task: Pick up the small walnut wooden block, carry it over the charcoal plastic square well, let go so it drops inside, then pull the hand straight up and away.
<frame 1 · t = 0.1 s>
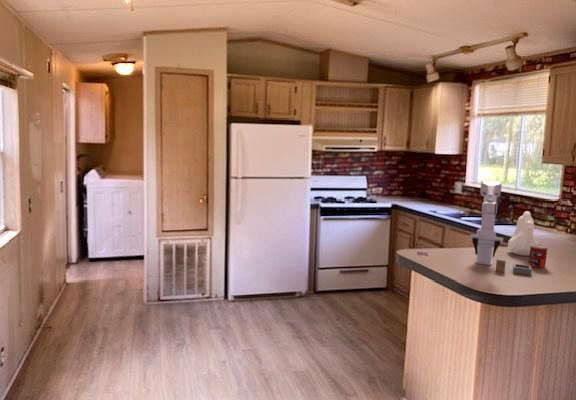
hand: (484, 255, 245), 10 cm above the countertop, tool pointing down, fingers open, 7 cm apart
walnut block: (499, 271, 256), on the countertop
canned food: (536, 266, 269), on the countertop
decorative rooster: (521, 255, 293), on the countertop
well: (521, 272, 255), on the countertop
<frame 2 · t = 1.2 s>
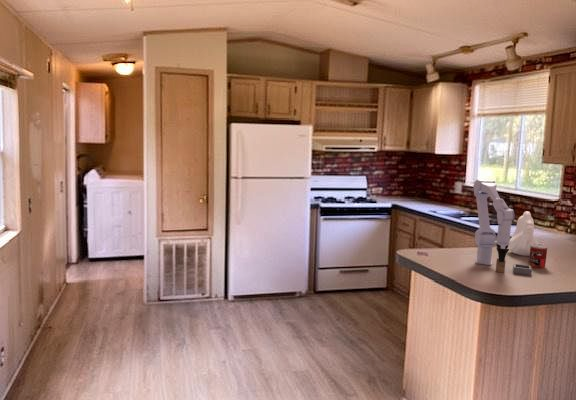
hand: (501, 260, 255), 6 cm above the countertop, tool pointing down, fingers open, 7 cm apart
nothing on the countertop moved.
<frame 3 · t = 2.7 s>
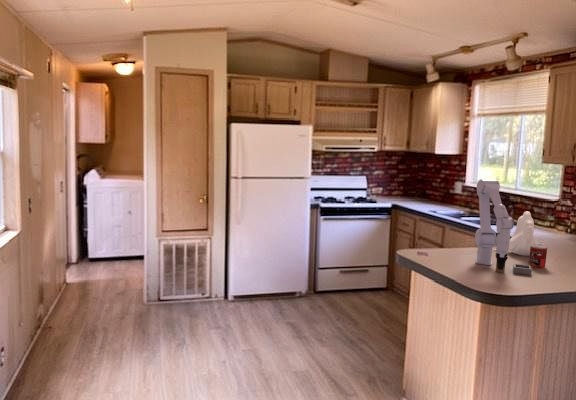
hand: (500, 268, 255), 1 cm above the countertop, tool pointing down, fingers closed on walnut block, 4 cm apart
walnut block: (499, 271, 256), on the countertop, touching gripper
everything else where it was.
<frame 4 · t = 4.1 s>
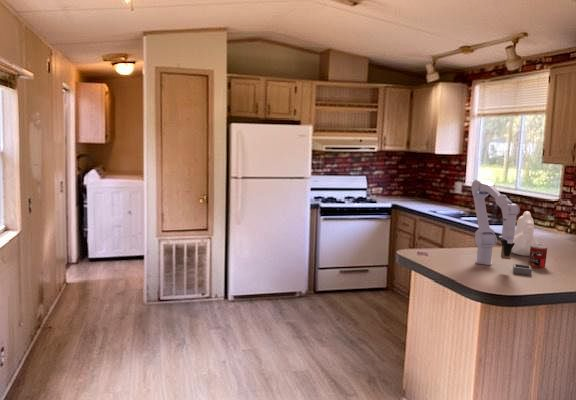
hand: (506, 255, 254), 8 cm above the countertop, tool pointing down, fingers closed on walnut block, 4 cm apart
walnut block: (505, 258, 255), point 7 cm above the countertop, touching gripper
everything else where it was.
when the fingers open (5 cm above the countertop, at t = 5.9 s): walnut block drops 3 cm, resting on well.
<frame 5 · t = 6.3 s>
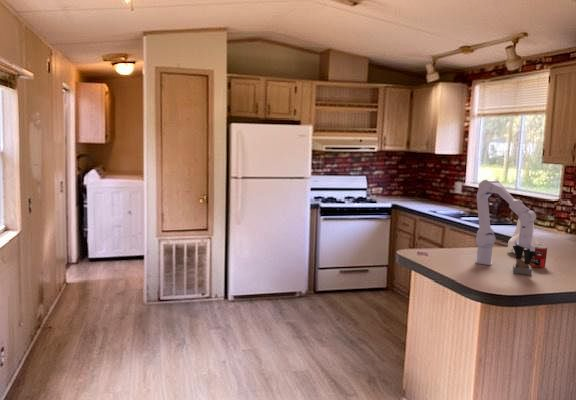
hand: (522, 262, 254), 5 cm above the countertop, tool pointing down, fingers open, 7 cm apart
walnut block: (521, 271, 255), resting on well
everything else where it was.
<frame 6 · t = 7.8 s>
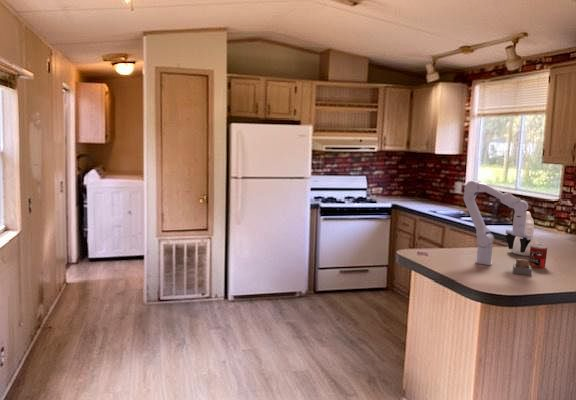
hand: (516, 250, 261), 9 cm above the countertop, tool pointing down, fingers open, 7 cm apart
nothing on the countertop moved.
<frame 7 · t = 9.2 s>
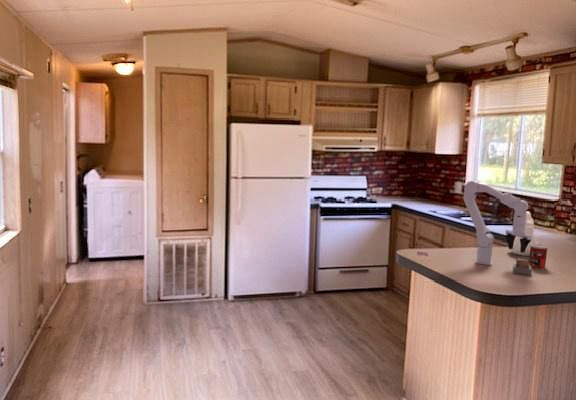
hand: (516, 250, 261), 9 cm above the countertop, tool pointing down, fingers open, 7 cm apart
nothing on the countertop moved.
at the end: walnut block 0.2 cm off-centre on the well, point 0.4 cm above the well's base; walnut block tilted 0°; the gripper is holding nothing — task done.
